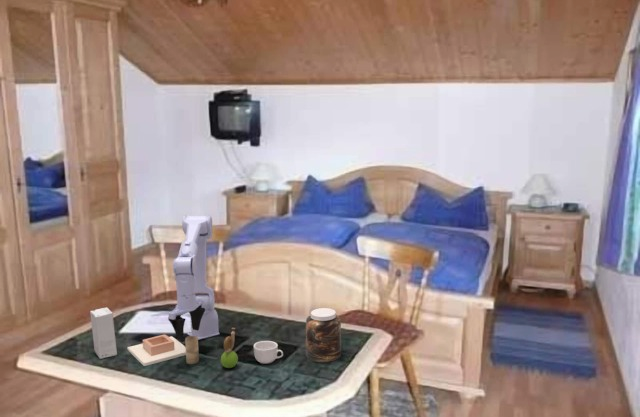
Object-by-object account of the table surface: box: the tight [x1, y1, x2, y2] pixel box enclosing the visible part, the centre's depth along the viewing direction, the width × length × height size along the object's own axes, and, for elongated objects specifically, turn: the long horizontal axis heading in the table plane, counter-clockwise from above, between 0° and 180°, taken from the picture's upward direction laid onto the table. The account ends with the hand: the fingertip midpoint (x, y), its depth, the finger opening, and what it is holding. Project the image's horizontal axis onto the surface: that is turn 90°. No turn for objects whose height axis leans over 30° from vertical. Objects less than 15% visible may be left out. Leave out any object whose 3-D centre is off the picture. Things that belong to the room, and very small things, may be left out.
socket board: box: [127, 334, 186, 367], centre depth 196 cm, size 16×16×4 cm
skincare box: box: [89, 307, 118, 360], centre depth 194 cm, size 8×6×15 cm
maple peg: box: [184, 335, 200, 365], centre depth 188 cm, size 4×4×8 cm
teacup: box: [253, 340, 284, 365], centre depth 188 cm, size 10×8×5 cm
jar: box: [305, 307, 342, 363], centre depth 192 cm, size 12×12×15 cm
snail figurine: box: [220, 327, 239, 369], centre depth 184 cm, size 5×6×12 cm
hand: (187, 333), depth 187 cm, fingers open, 7 cm apart
